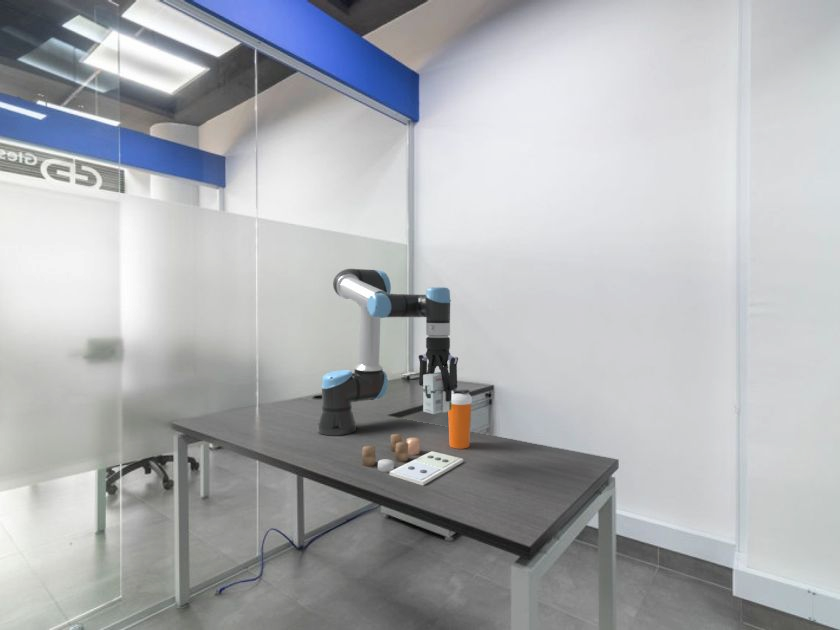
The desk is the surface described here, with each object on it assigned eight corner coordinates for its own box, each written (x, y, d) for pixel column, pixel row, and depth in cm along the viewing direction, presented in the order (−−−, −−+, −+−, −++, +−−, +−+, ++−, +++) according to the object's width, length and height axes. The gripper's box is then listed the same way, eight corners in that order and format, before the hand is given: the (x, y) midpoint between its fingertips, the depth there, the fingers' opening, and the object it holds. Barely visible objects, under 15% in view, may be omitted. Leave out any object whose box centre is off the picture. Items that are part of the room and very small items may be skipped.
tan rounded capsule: (359, 464, 129) (359, 448, 129) (367, 460, 133) (367, 445, 133) (369, 467, 127) (370, 450, 127) (377, 463, 131) (377, 447, 131)
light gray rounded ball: (378, 472, 123) (378, 465, 123) (376, 465, 128) (377, 459, 128) (394, 472, 124) (395, 465, 124) (393, 465, 129) (393, 459, 129)
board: (389, 475, 121) (389, 470, 121) (431, 454, 139) (431, 449, 139) (422, 485, 114) (422, 480, 114) (463, 461, 132) (463, 457, 132)
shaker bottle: (470, 450, 143) (471, 392, 142) (445, 448, 144) (445, 391, 144) (472, 442, 151) (473, 387, 151) (448, 440, 153) (448, 386, 153)
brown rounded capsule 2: (393, 460, 133) (393, 444, 133) (399, 456, 137) (399, 441, 136) (403, 462, 131) (404, 447, 131) (410, 458, 135) (410, 443, 134)
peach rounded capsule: (403, 453, 140) (404, 439, 140) (411, 449, 144) (411, 436, 144) (414, 455, 137) (414, 442, 137) (422, 452, 141) (422, 439, 141)
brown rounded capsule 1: (388, 450, 142) (388, 436, 142) (395, 447, 146) (395, 433, 146) (397, 453, 140) (397, 438, 140) (404, 449, 143) (404, 435, 143)
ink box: (440, 407, 136) (441, 371, 135) (452, 409, 132) (452, 372, 132) (422, 411, 129) (422, 373, 129) (433, 414, 126) (433, 375, 126)
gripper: (407, 335, 133) (407, 408, 133) (457, 338, 122) (456, 417, 122) (421, 334, 139) (420, 403, 139) (469, 337, 128) (469, 412, 128)
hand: (437, 409), depth 131 cm, fingers closed on ink box, 5 cm apart
